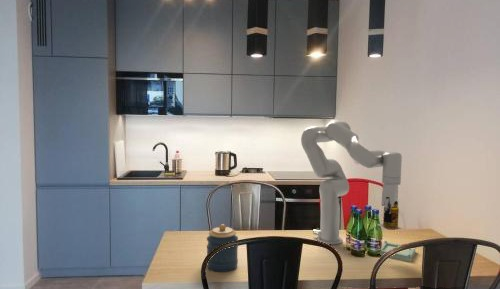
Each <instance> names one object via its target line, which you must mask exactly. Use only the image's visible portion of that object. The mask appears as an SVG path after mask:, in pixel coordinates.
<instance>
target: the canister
mask: <svg viewBox="0 0 500 289" xmlns="http://www.w3.org/2000/svg"><path fill="white" fill-rule="evenodd" d="M208 234H209V235H208V236H207V237H206V241H207V244H206V256H207V255H208V254H209V253H210V252H211V251H212V250H213V249H215V248H216V247H218V246H220V245H222V244H225V243H228V242H232V241H237V242H238V240H239V238H238V237H239V236H237V235H236V234H237V231H236V230H234V229H233V228H232V227H229V226H226V224H224V223H222V224H220V225H219V227H218V226H217V227H213V228H212V229H211V230H210V231H209V232H208ZM238 248H239V245H238V246H234V247H230V248H226V249H223V250H221V251H219V252H218V253H216V254H215V255H214V256H213V257H212V258H211V259H210V260H209V262H208V265H207V264H206V266H207V268H208V270H210V271H214V272H217V273H219V272H220V273H224V272H230V271H233V270H234V269H236V268H237V267H238V264H239V262H238V261H239V260H238Z"/></svg>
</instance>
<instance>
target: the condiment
mask: <svg viewBox="0 0 500 289" xmlns="http://www.w3.org/2000/svg"><path fill="white" fill-rule="evenodd" d="M388 206H391V205H388ZM389 209H390V208H389ZM399 210H400V209H399V201H398V202H397V201H396V202H395V203H394V207H392V211H391V214H392V222H391V223H388V222H384V216H382V217H383V223H377V224H376V225H377V226H379V227H381V228H383V229H385V230H387V231H394V230H396V231H397V230H402V229H403V228H402V227H399V212H400V211H399Z"/></svg>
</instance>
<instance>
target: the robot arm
mask: <svg viewBox="0 0 500 289" xmlns="http://www.w3.org/2000/svg"><path fill="white" fill-rule="evenodd" d="M300 138H301V139H300V142H301V143H300V144H301V146H302V149H303V151H304V153H305V154H306V156H307V158H308V161H309V163H310V165H311V167H312V168H311V169H312V170H313V172H314V175H315V176H316V177H317V178H319V179H326V180H324V181H322V182H321V183H320V185H319V190H318V192H319V198H320V223H319V225H320V228H319V230H318V229H313V230H312V233H313V235H315V236H316V235H317V236H316V240H317V242H319V241H322V242H325V243H327V244H326V245H330V244H331V245H333V246H334V245H340V244H342V243H343V239H342V237H340V223H341V221H340V220H341V219H340V218H341V206H340V200H339V197H342V196H346V195H347V194H348V193H349V190H350V185H349V184H350V183H349V181H348V179H347V177H346V174H345V173H344V170H343V168H342V165H341V164H340V163H339V161H337V160H335V159H333V158H331V159H330V158H329V159H327V157H326V155H325V152H324V150H323V149H322V148H321V146H319V143H328V142H336V143H337V144H339V145H340V146H341V147H343V149H345V150H346V152H347V153H348V155H349V156H350V158H351V159H352V160H354V161H355V162H357V163H358V164H360V165H361V166H362V167H364V168H367V169H375V168H381V167H382V176H381V178H382V179H381V180H382V181H381V184H383V185H382V186H383V187H382V192H381V206H382V207H383V206H384V207H383V217H384V222H388V223H391V222H392V214H391V211H392V207H394V203H395V202H396V201H397V202H398V203H399V186H400V185H401V182H402V180H401V179H402V177H401V176H402V161H403V160H402V159H403V156H402V154H401V153H399V152H393V151H383V150H369V149H367V148H365V147H364V146H363V145H361V144H360V143H359V139H360V138H359V136H358V134H357V133H355V132H353V131H352V130H351V126H350V125H349V123H347V122H346V121H341V120H340V121H337V120H336V121H335V120H334V121H330V122H329V123H327V124H326V125H324V126H318V125H317V126H315V125H314V126H309V127H307V128H305V129H304V130H303V131H302V134H301V137H300ZM327 178H328V179H327ZM388 205H391V206H388ZM389 208H390V209H389ZM331 245H330V246H331Z"/></svg>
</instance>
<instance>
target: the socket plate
mask: <svg viewBox="0 0 500 289" xmlns="http://www.w3.org/2000/svg"><path fill="white" fill-rule="evenodd" d="M381 245H382V248H381V251H380V255H381V257H383V256H382V255H383V254H384V253H386V252H387V251H388V250H390V249H392V248H394V247H398V246H401V245H402V244H398V243H394V242H388V241H387V240H384V241H383V242H382V244H381ZM415 254H416V248H415V249H409V250H406V251H402V252H399V253H396V254H395V255H393V256H391V257H389V258H391V259H396V260H400V261H404V262H405V261H406V262H412V259H413V258H414V255H415ZM380 255H379V256H380Z"/></svg>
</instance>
